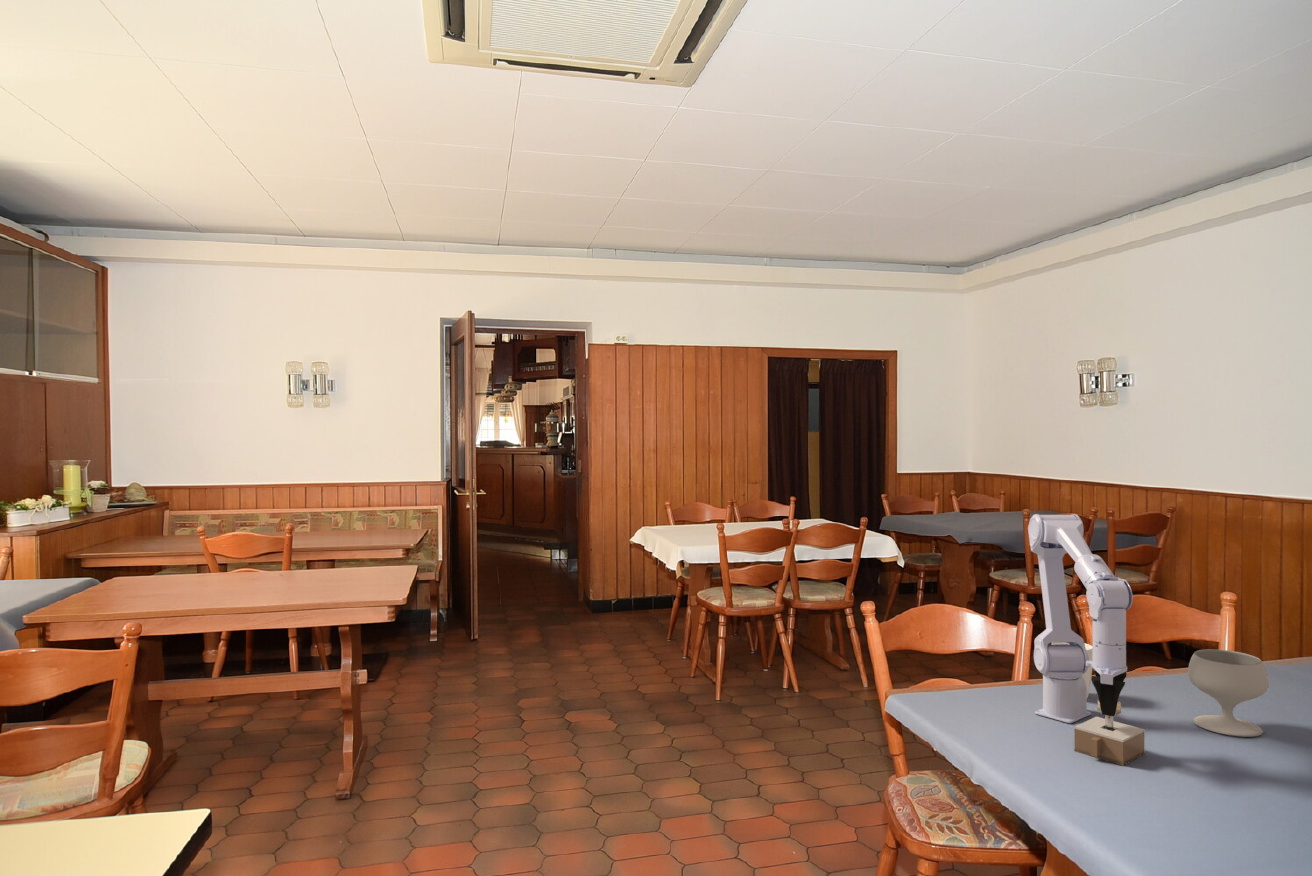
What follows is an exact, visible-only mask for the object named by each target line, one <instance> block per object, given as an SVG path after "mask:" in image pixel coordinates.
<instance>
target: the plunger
mask: <svg viewBox="0 0 1312 876" xmlns="http://www.w3.org/2000/svg"><path fill="white" fill-rule="evenodd" d="M1097 711H1098V712H1100V713H1102V712H1101V708H1100V703H1099V698H1098V699H1097ZM1121 714H1122V702H1120V701H1119V700H1118V703H1117V709H1116V713H1115V716H1116V715H1117V716H1118V715H1121ZM1104 719H1105V729H1107V730H1111V731H1113V721H1114V716H1108V715H1104Z"/></svg>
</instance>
